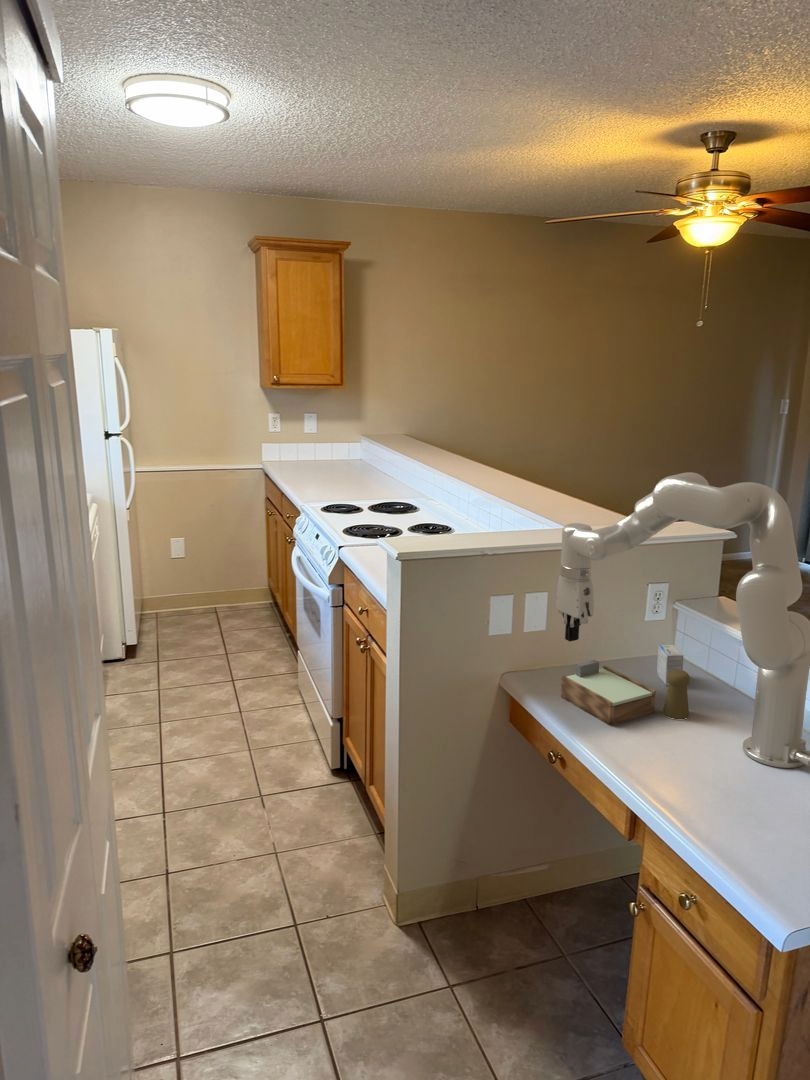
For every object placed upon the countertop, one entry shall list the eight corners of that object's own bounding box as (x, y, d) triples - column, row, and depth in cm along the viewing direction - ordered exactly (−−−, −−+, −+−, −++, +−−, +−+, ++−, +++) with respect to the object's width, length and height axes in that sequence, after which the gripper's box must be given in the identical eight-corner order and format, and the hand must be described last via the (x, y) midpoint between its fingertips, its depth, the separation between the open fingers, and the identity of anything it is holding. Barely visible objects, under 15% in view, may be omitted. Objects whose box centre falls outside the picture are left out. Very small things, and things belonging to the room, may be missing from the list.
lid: (651, 695, 181) (652, 681, 180) (612, 706, 176) (613, 691, 175) (602, 670, 197) (603, 657, 196) (565, 679, 191) (565, 665, 190)
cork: (657, 711, 183) (659, 669, 181) (677, 707, 185) (679, 665, 183) (674, 721, 178) (677, 678, 175) (694, 717, 180) (698, 674, 177)
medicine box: (682, 686, 198) (684, 655, 196) (665, 686, 198) (667, 655, 196) (672, 674, 205) (674, 644, 204) (656, 674, 206) (657, 644, 204)
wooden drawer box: (654, 713, 182) (655, 690, 181) (609, 725, 176) (610, 702, 175) (603, 686, 198) (604, 665, 197) (561, 697, 192) (561, 675, 191)
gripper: (606, 577, 188) (602, 646, 192) (568, 563, 201) (565, 628, 205) (582, 581, 184) (578, 651, 189) (545, 566, 197) (542, 633, 202)
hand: (571, 639), depth 197 cm, fingers closed
